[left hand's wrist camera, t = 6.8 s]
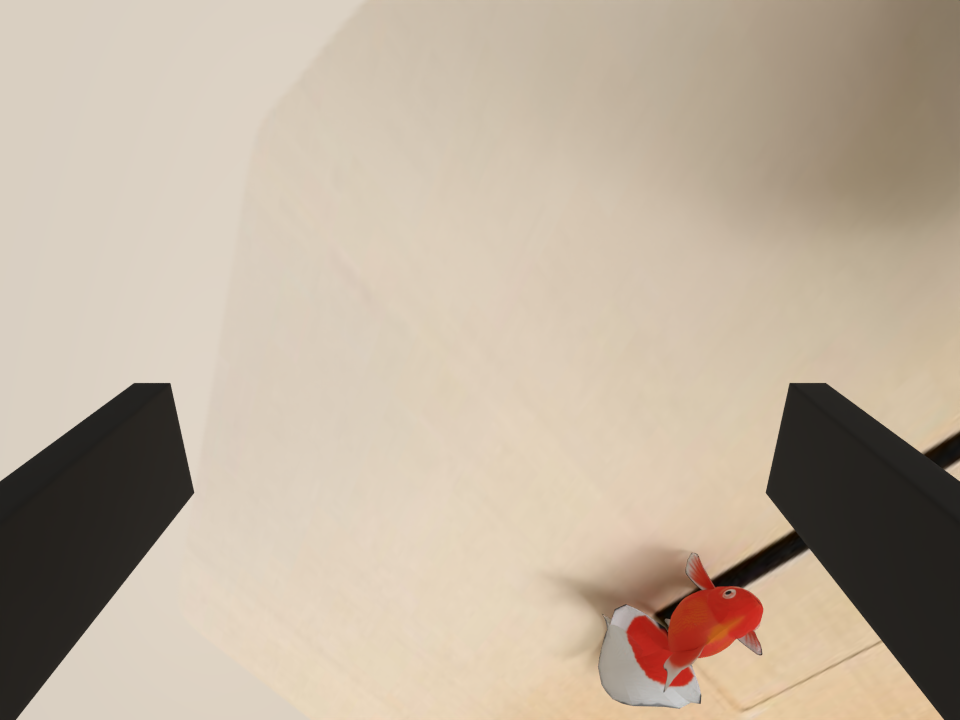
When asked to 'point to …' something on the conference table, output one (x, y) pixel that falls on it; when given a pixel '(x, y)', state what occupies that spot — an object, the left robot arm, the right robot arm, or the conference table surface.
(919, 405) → the conference table surface
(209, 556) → the conference table surface
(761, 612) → the fish
